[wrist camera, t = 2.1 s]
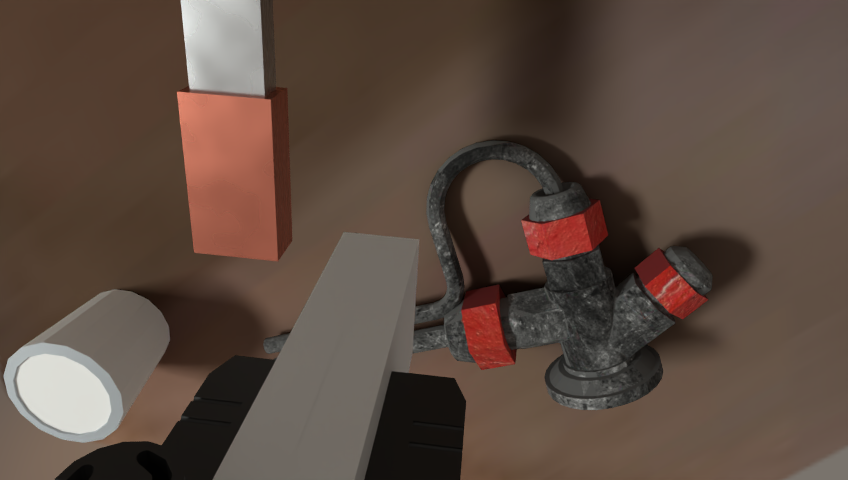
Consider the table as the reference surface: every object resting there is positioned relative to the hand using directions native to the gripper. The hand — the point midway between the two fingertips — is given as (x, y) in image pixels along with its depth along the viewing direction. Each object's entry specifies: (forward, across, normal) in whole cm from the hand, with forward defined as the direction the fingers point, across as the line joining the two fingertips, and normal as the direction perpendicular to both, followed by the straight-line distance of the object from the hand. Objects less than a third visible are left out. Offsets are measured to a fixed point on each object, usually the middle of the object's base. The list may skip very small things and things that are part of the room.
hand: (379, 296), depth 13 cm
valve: (+23, -1, +11) cm, 25 cm away
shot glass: (+22, +20, +18) cm, 35 cm away
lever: (+11, +7, -3) cm, 13 cm away
